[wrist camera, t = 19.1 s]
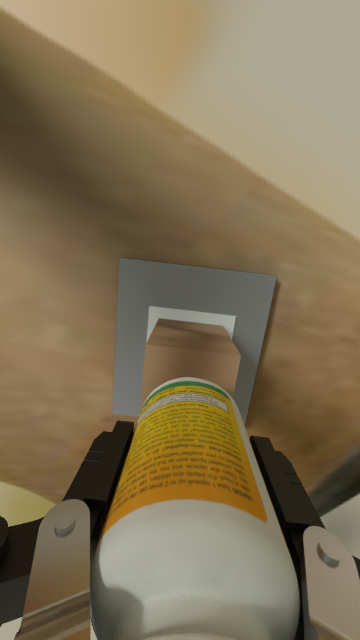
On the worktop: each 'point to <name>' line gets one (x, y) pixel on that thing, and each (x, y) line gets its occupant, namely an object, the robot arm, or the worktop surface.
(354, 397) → the worktop surface
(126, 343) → the grey flat plate
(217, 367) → the tan wooden block
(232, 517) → the supplement bottle
